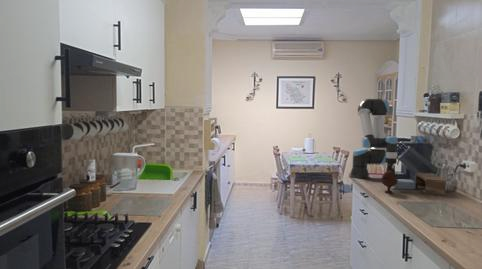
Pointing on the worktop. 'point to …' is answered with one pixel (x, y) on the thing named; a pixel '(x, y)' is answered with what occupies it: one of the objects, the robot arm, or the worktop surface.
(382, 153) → the robot arm
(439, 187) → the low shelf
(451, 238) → the worktop surface
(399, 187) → the grey slate tile
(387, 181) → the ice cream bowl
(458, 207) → the worktop surface
